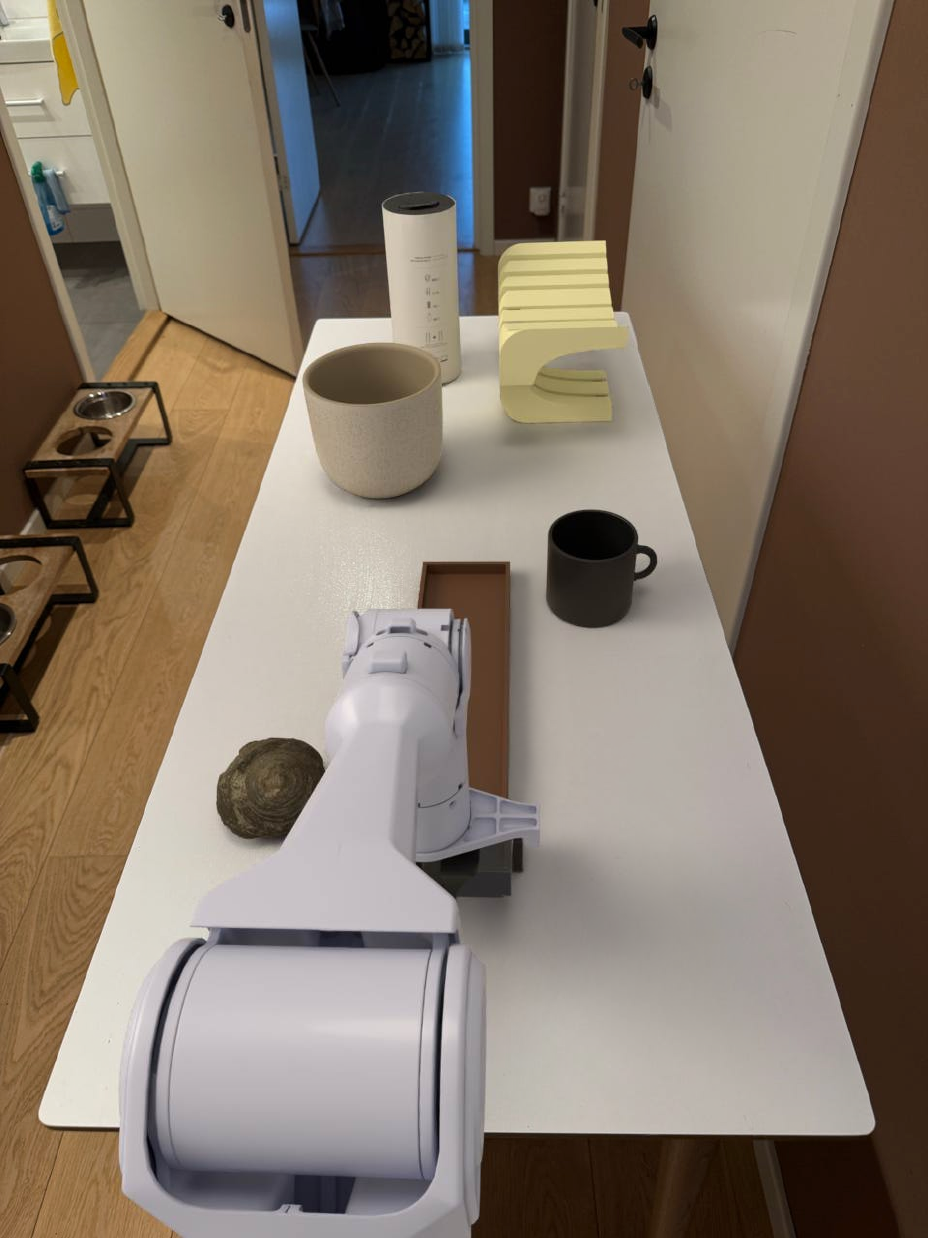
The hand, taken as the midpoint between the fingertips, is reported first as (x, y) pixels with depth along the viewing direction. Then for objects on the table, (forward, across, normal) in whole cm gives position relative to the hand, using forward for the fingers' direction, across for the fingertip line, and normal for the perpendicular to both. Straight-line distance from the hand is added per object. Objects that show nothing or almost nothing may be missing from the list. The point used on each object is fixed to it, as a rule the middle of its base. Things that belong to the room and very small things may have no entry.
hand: (434, 895), depth 65 cm
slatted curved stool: (+10, -11, -89) cm, 90 cm away
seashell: (+10, +16, -16) cm, 25 cm away
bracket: (+10, 0, -10) cm, 14 cm away
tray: (+10, 0, -28) cm, 30 cm away
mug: (+10, -15, -44) cm, 47 cm away
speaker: (+9, +8, -98) cm, 99 cm away
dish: (+4, 0, -3) cm, 5 cm away
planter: (+10, +12, -68) cm, 70 cm away
